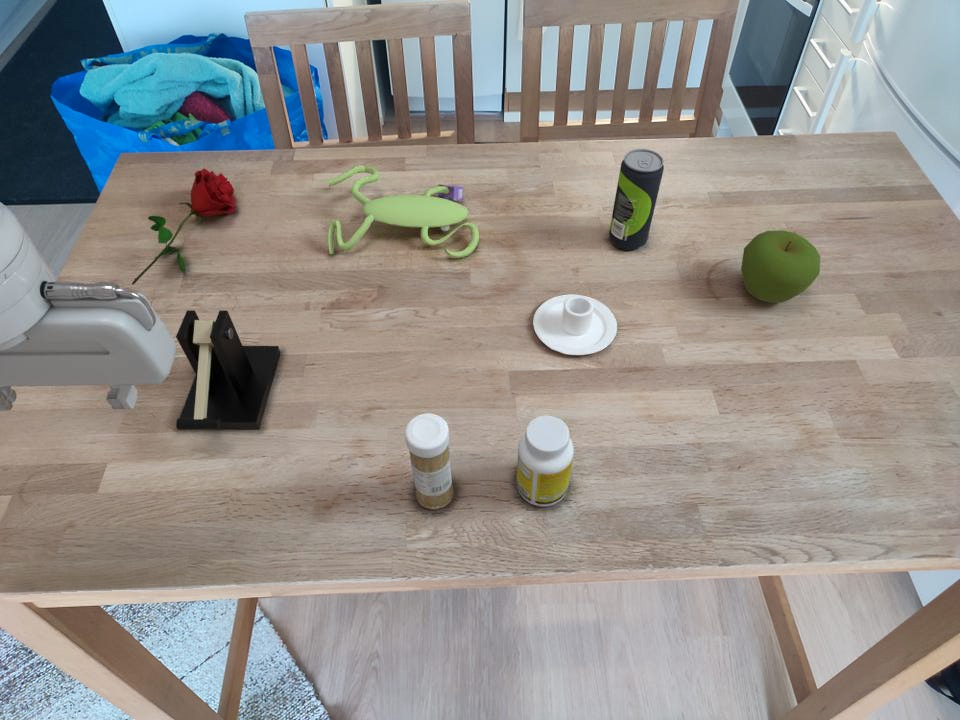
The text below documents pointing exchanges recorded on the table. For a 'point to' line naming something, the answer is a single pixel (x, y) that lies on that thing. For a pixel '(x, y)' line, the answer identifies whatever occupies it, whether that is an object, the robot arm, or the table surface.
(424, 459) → the sprinkles bottle
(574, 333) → the candle holder
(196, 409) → the lever
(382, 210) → the figurine
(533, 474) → the pill bottle
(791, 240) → the apple
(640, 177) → the beverage can
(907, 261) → the table surface
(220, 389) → the bracket
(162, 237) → the flower
